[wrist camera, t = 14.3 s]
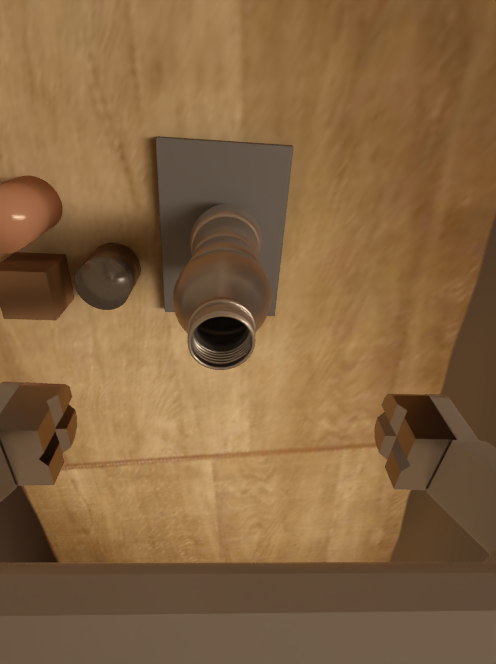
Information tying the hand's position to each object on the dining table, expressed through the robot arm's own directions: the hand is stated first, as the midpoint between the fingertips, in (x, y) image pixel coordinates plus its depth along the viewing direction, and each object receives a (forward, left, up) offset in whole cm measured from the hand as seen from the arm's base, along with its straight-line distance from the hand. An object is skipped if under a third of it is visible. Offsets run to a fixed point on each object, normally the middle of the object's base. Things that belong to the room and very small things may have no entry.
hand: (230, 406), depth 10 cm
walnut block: (+10, -19, -31) cm, 38 cm away
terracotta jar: (+3, -19, -31) cm, 36 cm away
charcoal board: (+5, -1, -31) cm, 32 cm away
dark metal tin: (+9, -12, -31) cm, 34 cm away
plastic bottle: (+4, 0, -30) cm, 30 cm away
